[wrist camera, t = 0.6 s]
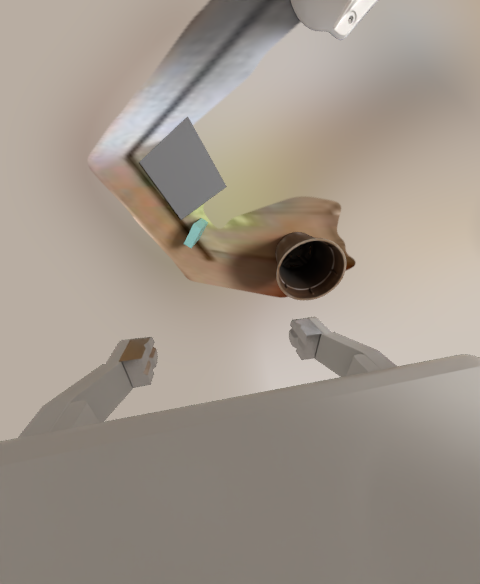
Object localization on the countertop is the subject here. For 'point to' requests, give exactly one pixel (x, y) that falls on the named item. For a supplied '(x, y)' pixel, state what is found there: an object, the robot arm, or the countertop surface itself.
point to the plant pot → (308, 266)
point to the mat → (183, 170)
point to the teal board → (195, 232)
